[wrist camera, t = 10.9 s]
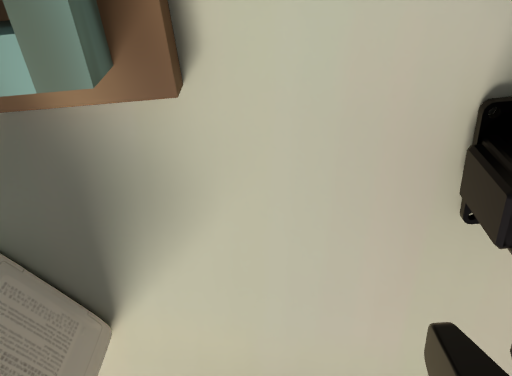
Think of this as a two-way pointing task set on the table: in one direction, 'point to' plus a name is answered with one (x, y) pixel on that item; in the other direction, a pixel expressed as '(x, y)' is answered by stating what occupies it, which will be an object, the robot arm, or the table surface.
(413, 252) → the table surface
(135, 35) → the well board
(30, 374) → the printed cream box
